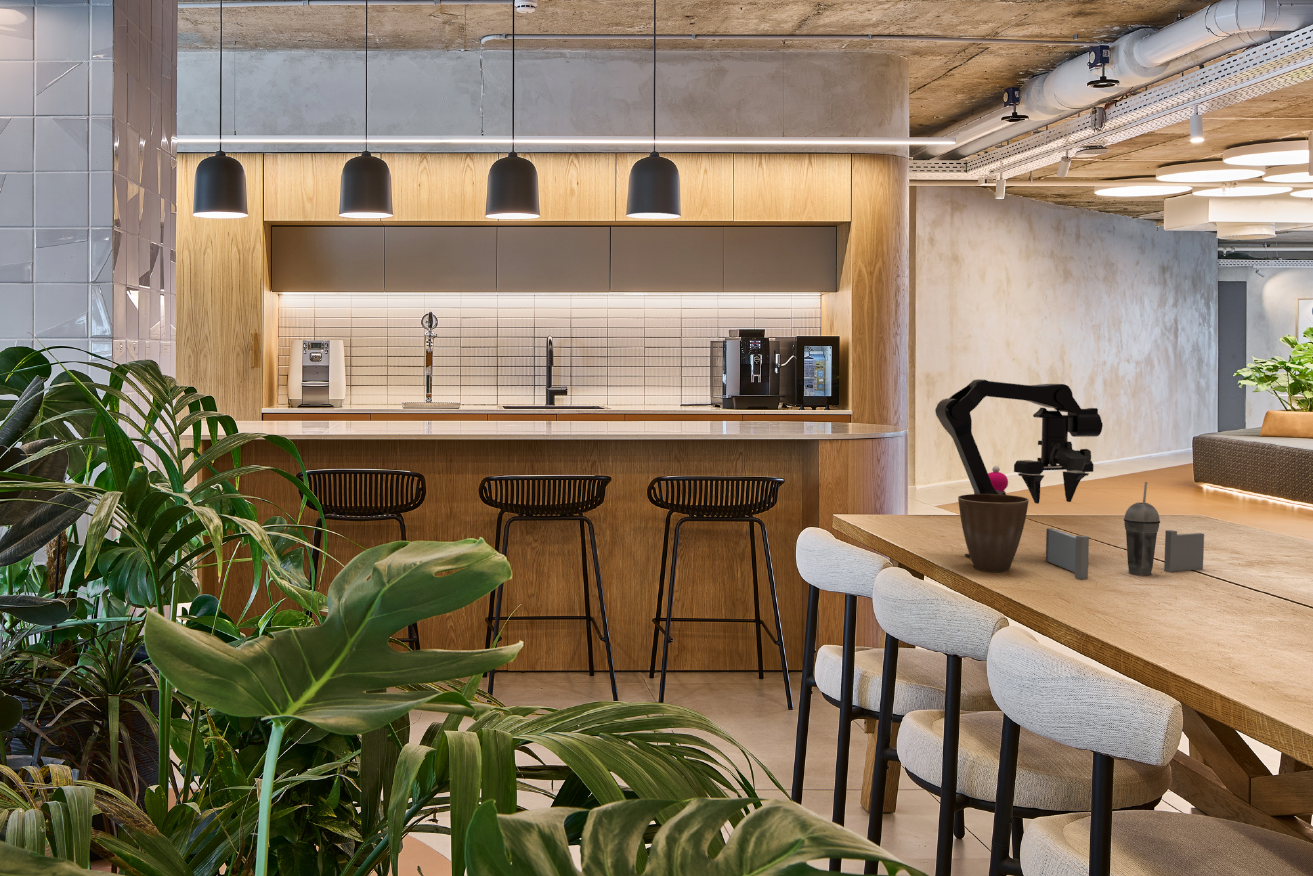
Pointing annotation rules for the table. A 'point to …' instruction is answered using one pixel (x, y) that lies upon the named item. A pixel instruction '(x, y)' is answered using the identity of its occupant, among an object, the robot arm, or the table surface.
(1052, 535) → the grey thin rectangular panel
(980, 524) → the plant pot
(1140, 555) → the beverage cup
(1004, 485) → the pepper mill
